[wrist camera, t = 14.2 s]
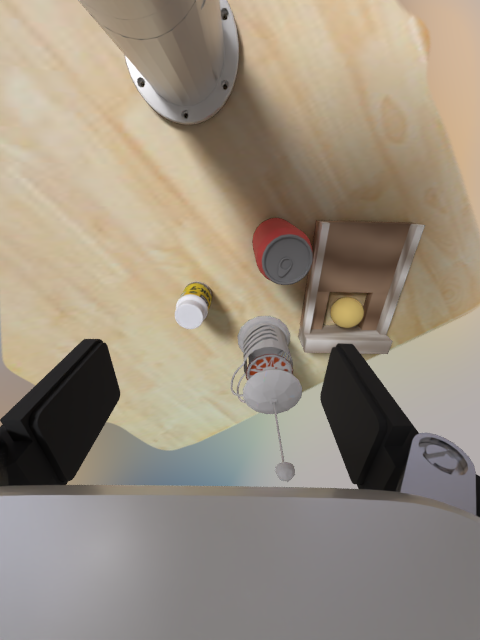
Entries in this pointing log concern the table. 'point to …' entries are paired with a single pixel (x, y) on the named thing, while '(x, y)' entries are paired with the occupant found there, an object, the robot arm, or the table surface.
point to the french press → (268, 374)
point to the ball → (347, 312)
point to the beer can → (282, 251)
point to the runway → (357, 281)
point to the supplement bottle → (193, 305)
